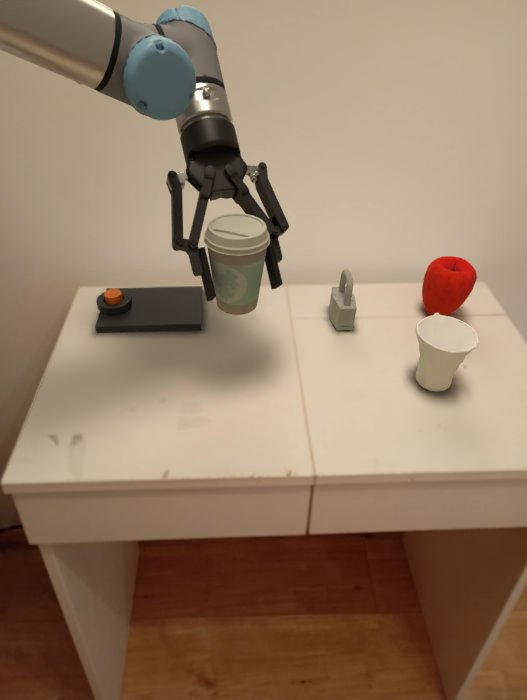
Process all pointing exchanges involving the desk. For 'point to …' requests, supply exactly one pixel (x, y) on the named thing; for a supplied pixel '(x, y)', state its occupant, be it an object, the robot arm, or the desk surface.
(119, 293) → the button
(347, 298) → the padlock
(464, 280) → the apple
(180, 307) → the scale
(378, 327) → the desk surface
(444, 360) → the cup
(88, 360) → the desk surface
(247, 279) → the coffee cup
